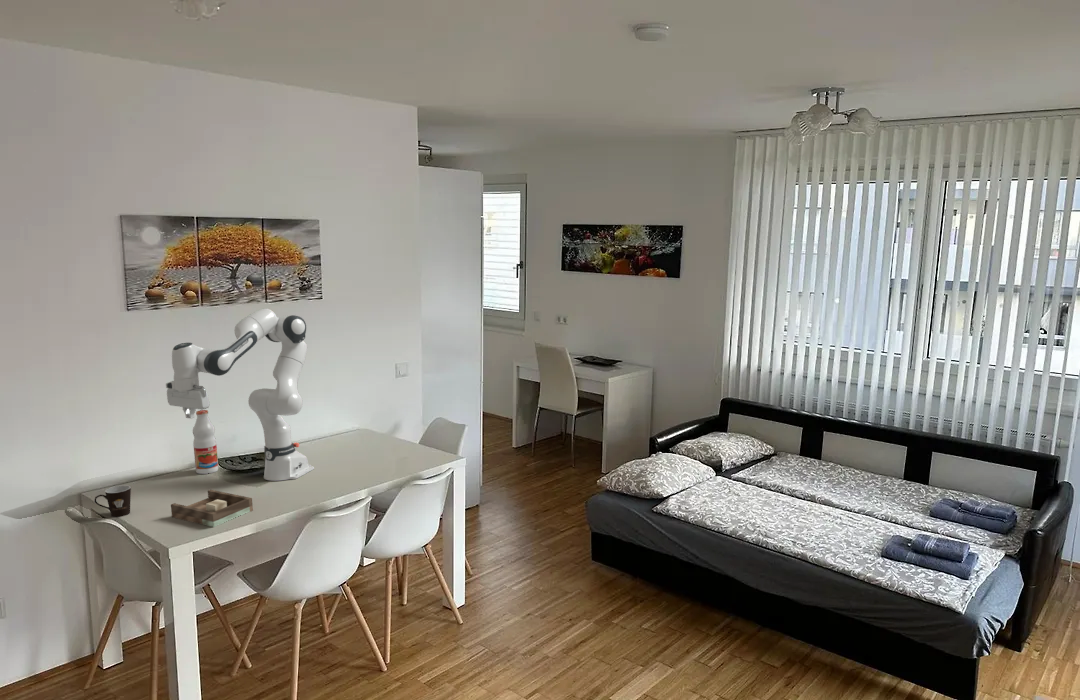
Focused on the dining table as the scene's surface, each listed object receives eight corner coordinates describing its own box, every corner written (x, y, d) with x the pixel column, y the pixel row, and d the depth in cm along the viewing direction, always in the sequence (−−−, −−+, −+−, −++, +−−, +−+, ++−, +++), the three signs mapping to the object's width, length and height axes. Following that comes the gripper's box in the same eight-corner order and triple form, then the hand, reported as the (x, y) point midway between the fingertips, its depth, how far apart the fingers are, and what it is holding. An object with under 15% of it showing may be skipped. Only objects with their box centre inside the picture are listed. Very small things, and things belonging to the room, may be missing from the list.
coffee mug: (137, 509, 288) (135, 485, 287) (126, 517, 280) (123, 492, 278) (107, 510, 288) (104, 485, 287) (95, 518, 280) (92, 493, 278)
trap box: (171, 517, 280) (170, 504, 279) (211, 501, 296) (210, 489, 295) (214, 527, 270) (212, 514, 269) (252, 510, 286) (252, 498, 285)
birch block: (218, 511, 279) (217, 499, 279) (227, 514, 277) (226, 501, 276) (207, 516, 275) (205, 503, 274) (216, 518, 273) (215, 505, 272)
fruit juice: (213, 466, 341) (208, 407, 336) (222, 470, 335) (217, 410, 330) (192, 471, 334) (186, 411, 330) (201, 475, 328) (195, 414, 323)
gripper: (211, 384, 290) (215, 418, 292) (176, 380, 299) (179, 413, 301) (198, 387, 284) (201, 422, 287) (162, 383, 293) (166, 417, 296)
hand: (190, 418), depth 294 cm, fingers closed
